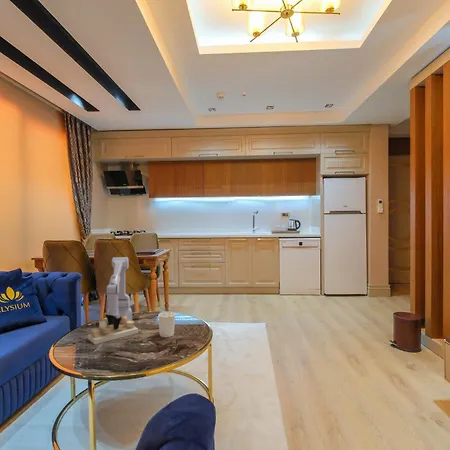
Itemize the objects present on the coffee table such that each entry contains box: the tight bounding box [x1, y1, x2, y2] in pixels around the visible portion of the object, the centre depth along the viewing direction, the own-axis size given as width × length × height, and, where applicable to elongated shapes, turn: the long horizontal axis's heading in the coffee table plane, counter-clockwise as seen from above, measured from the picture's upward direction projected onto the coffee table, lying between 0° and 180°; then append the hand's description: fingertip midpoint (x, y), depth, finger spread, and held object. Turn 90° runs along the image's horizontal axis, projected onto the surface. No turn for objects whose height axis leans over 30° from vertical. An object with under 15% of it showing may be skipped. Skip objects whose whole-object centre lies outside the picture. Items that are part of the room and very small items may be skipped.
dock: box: [87, 326, 139, 345], centre depth 187 cm, size 26×11×3 cm, turn 131°
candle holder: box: [157, 311, 176, 338], centre depth 188 cm, size 10×10×12 cm
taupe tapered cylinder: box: [98, 319, 108, 329], centre depth 183 cm, size 4×4×4 cm
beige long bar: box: [90, 319, 136, 338], centre depth 187 cm, size 24×5×4 cm, turn 132°
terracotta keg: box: [120, 316, 127, 324], centre depth 191 cm, size 4×4×4 cm
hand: (113, 327), depth 187 cm, fingers open, 7 cm apart
